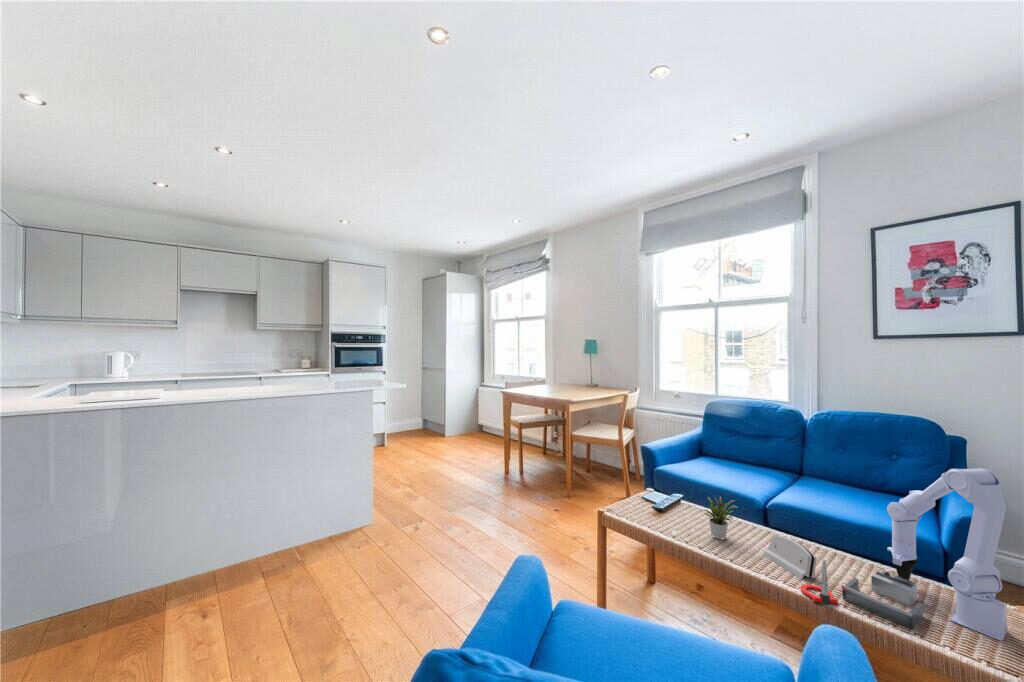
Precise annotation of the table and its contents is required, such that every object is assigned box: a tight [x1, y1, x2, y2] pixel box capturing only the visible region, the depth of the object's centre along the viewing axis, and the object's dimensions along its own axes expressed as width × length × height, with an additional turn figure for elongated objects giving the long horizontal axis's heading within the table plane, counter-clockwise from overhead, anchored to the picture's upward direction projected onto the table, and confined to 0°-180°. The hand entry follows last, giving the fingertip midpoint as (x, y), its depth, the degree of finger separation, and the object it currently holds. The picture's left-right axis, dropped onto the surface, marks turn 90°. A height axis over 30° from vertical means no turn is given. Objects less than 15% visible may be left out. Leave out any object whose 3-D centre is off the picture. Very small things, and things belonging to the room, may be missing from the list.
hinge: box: [763, 535, 818, 580], centre depth 146 cm, size 17×5×10 cm, turn 12°
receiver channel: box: [841, 577, 924, 630], centre depth 123 cm, size 16×11×4 cm, turn 33°
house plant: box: [703, 496, 739, 539], centre depth 167 cm, size 14×14×16 cm
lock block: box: [871, 569, 919, 607], centre depth 129 cm, size 9×7×6 cm
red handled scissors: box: [800, 559, 839, 605], centre depth 129 cm, size 8×13×9 cm
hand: (904, 580), depth 134 cm, fingers closed
